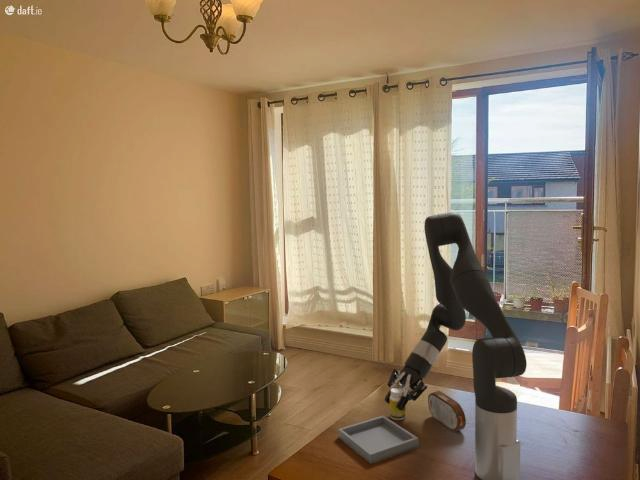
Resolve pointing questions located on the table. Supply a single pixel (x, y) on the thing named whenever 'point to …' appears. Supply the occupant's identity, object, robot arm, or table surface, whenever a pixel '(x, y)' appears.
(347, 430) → the tray
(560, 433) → the table surface
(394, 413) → the supplement bottle
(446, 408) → the tin
